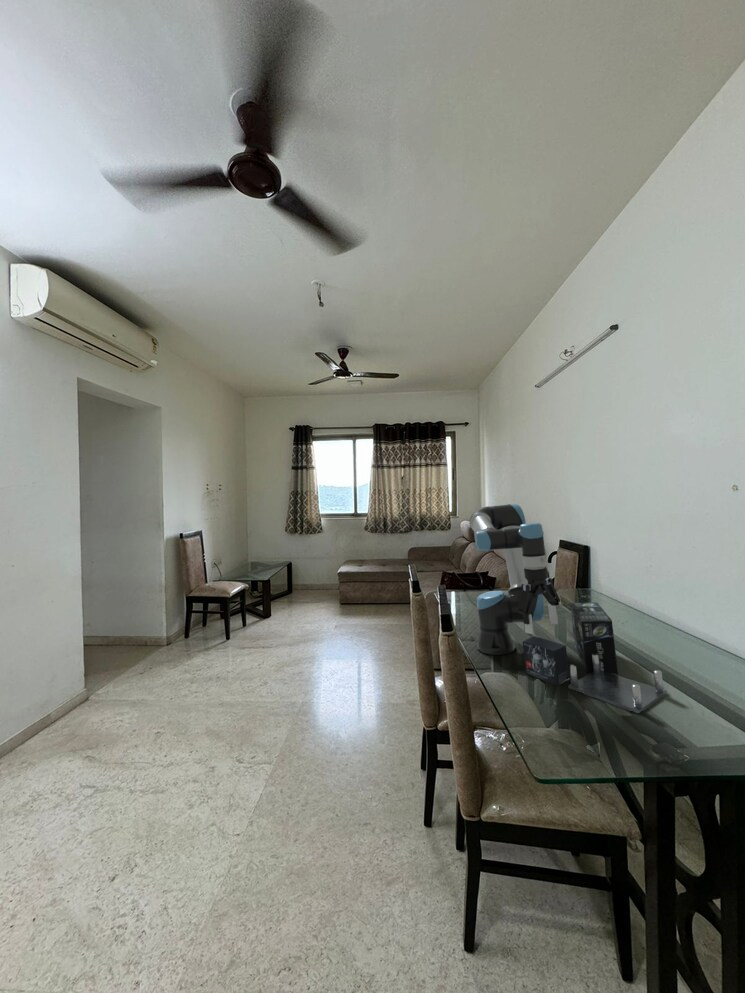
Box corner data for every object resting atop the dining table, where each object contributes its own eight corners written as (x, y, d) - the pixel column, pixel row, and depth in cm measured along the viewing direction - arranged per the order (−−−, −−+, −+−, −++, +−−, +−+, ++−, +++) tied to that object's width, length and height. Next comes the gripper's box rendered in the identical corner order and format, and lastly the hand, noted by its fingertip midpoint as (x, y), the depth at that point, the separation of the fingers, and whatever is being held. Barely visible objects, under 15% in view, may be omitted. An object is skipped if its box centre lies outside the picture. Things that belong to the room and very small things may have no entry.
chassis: (568, 688, 129) (566, 666, 129) (597, 672, 138) (595, 652, 138) (638, 714, 111) (635, 689, 111) (667, 693, 120) (664, 670, 120)
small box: (525, 674, 142) (521, 640, 143) (537, 668, 146) (534, 635, 146) (557, 686, 131) (553, 650, 131) (570, 680, 134) (566, 644, 135)
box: (619, 675, 135) (613, 619, 135) (586, 674, 138) (580, 620, 138) (602, 649, 157) (597, 601, 157) (575, 649, 160) (569, 602, 160)
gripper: (520, 574, 129) (528, 640, 129) (566, 562, 142) (573, 621, 142) (502, 572, 136) (509, 634, 135) (547, 561, 149) (554, 617, 148)
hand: (542, 628), depth 139 cm, fingers open, 13 cm apart
